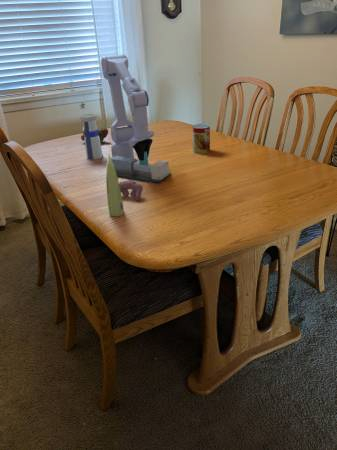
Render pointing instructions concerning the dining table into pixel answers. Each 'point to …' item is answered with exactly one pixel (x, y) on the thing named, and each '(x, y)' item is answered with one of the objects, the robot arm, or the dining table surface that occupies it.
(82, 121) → the water bottle
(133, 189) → the video game controller
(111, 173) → the tube
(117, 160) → the grey long angular block
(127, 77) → the robot arm
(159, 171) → the socket
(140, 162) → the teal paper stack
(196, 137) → the canned food
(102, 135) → the decorative turtle
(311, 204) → the dining table surface
